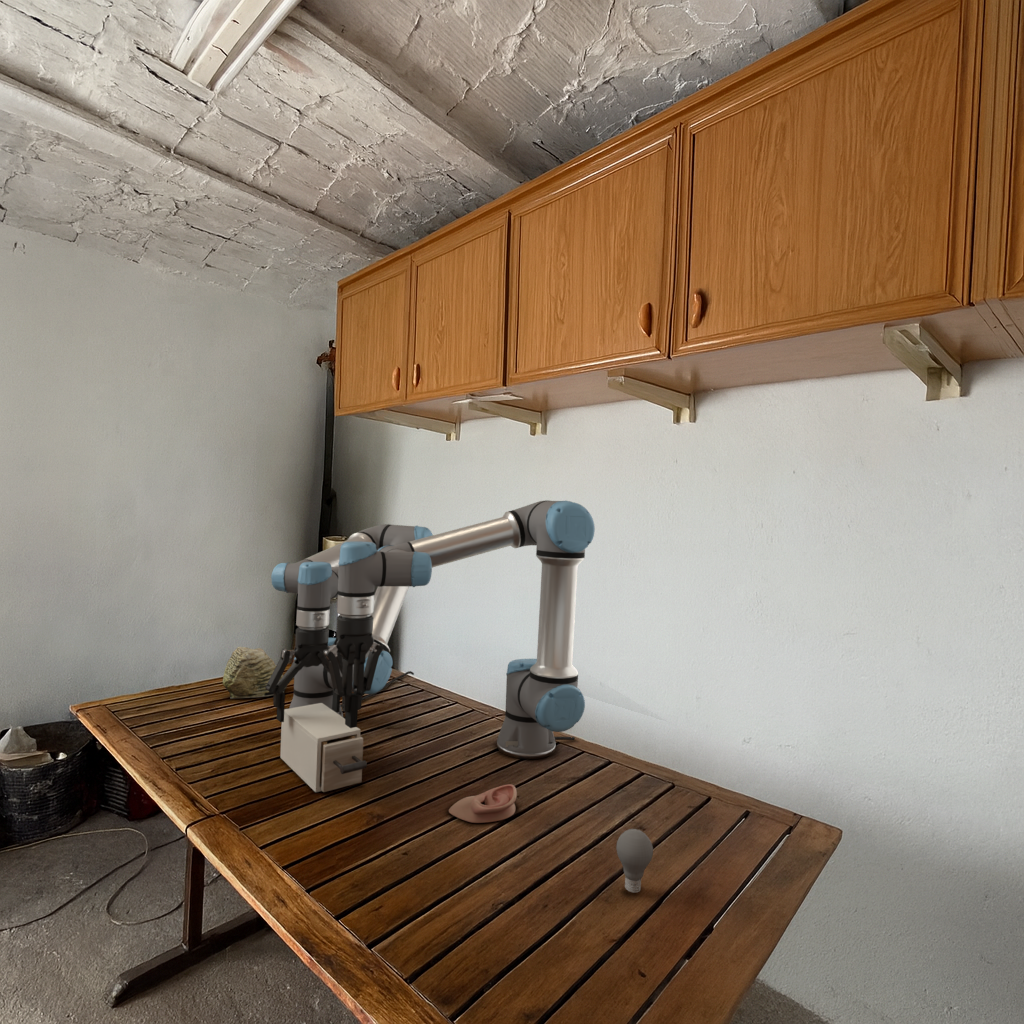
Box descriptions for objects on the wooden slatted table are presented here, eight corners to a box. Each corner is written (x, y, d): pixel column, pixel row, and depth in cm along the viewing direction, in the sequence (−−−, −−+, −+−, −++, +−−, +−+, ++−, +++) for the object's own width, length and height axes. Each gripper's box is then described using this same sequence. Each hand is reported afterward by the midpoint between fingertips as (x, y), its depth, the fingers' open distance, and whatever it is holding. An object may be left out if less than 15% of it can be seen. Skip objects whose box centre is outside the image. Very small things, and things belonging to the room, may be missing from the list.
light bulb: (610, 879, 108) (613, 822, 108) (644, 879, 109) (647, 822, 109) (619, 902, 102) (622, 840, 102) (655, 901, 103) (658, 840, 103)
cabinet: (358, 781, 142) (360, 729, 142) (315, 792, 136) (317, 738, 135) (320, 748, 159) (321, 702, 158) (280, 757, 152) (282, 709, 152)
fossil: (218, 695, 195) (220, 647, 195) (278, 685, 208) (279, 640, 207) (228, 703, 189) (230, 653, 188) (289, 692, 201) (290, 645, 201)
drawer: (373, 791, 135) (375, 746, 135) (334, 802, 130) (336, 755, 129) (324, 750, 155) (325, 711, 155) (288, 758, 150) (290, 717, 150)
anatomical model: (444, 799, 126) (460, 775, 138) (443, 818, 126) (460, 793, 138) (509, 808, 124) (520, 783, 135) (508, 828, 124) (519, 801, 135)
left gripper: (264, 634, 140) (260, 729, 141) (367, 625, 156) (363, 711, 156) (253, 628, 146) (249, 720, 146) (354, 620, 162) (350, 702, 162)
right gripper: (333, 620, 127) (328, 737, 127) (391, 615, 135) (387, 725, 135) (318, 614, 133) (314, 726, 133) (375, 609, 141) (370, 714, 141)
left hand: (308, 715), depth 151 cm, fingers open, 13 cm apart
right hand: (351, 725), depth 134 cm, fingers closed
